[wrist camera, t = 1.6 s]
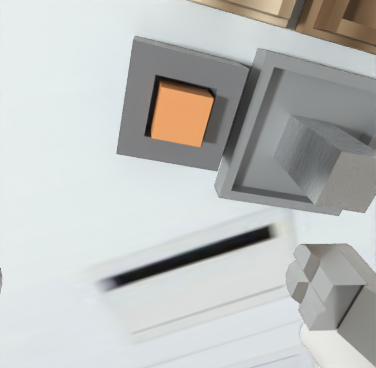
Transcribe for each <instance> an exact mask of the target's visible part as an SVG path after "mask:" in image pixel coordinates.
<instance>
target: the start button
mask: <svg viewBox="0 0 376 368" xmlns="http://www.w3.org/2000/svg"><path fill="white" fill-rule="evenodd" d="M213 100H214V98H213V97H212V96H211V94H210V93H209V92H208V90H206V89H201V88H197V87H192V86H188V85H184V84H179V83H175V82H171V81H166V80H162V79H160V82H159V87H158V92H157V97H156V102H155V108H154V113H153V118H152V123H151V138H153V139H158V140H164V141H169V142H175V143H180V144H185V145H191V146H196V147H201V143H202V140H203V136H204V132H205V129H206V125H207V122H208V118H209V114H210V111H211V107H212V104H213Z"/></svg>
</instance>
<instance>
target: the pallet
mask: <svg viewBox="0 0 376 368" xmlns="http://www.w3.org/2000/svg"><path fill="white" fill-rule="evenodd" d="M188 1H191V2H195V3H198V4H202V5H205V6H209V7H212V8H216V9H219V10H223V11H226V12H230V13H233V14H236V15H240V16H243V17H247V18H250V19H254V20H257V21H261V22H264V23H268V24H271V25H275V26H278V27H285V28H286V26H287V23H288V20H289V19H290V17H291V14H292V11H293V8H294V5H295V3H296V0H188Z"/></svg>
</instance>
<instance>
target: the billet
mask: <svg viewBox="0 0 376 368" xmlns="http://www.w3.org/2000/svg"><path fill="white" fill-rule="evenodd" d="M274 159H275V160H276V161H277V162H278V163H279V164H280V166H281V167H282V168H283V169H284V170H285V171H286V172H287V174H288V175H289V176H290V177H291V178H292V179H293V181H294V182H295V183H296V184H297V185H298V186H299V187H300V189H301V190H302V191H303V192H304V193H305V194H306V196H307V197H308V198H309V199H310V200H311V201H312V202H313V204H314V205H316V206H323V207H329V208H335V209H342V210H348V211H354V212H361V213H365V212H366V210H367V209H368V207H369V205H370V204H371V202H372V200H373V199H374V197H375V195H376V150H374V149H372V148H371V147H369V146H367V145H366V144H364V143H362V142H361V141H359V140H357V139H356V138H354V137H353V136H351V135H349V134H348V133H346V132H344V131H343V130H341V129H339V128H338V127H336V126H335V125H333V124H331V123H326V122H322V121H317V120H313V119H309V118H304V117H300V116H295V115H291V114H290V116H289V119H288V121H287V124H286V126H285V129H284V131H283V134H282V137H281V139H280V142H279V144H278V147H277V149H276V152H275V154H274Z"/></svg>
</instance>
